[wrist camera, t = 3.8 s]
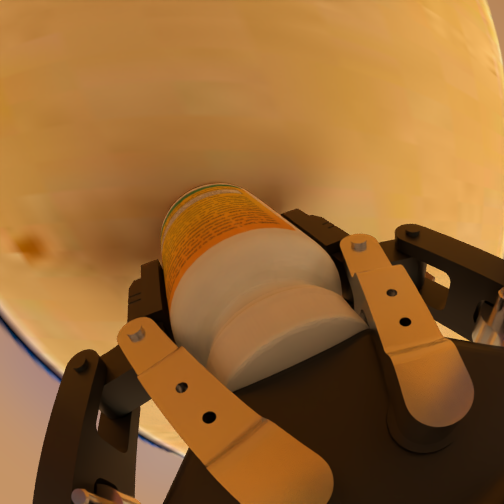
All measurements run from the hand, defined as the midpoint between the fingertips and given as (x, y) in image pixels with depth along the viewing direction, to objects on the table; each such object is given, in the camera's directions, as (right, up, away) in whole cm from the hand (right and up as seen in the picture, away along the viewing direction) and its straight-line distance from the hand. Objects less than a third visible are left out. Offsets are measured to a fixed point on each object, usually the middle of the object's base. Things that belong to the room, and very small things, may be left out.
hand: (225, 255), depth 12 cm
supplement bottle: (-1, +1, +2) cm, 3 cm away
